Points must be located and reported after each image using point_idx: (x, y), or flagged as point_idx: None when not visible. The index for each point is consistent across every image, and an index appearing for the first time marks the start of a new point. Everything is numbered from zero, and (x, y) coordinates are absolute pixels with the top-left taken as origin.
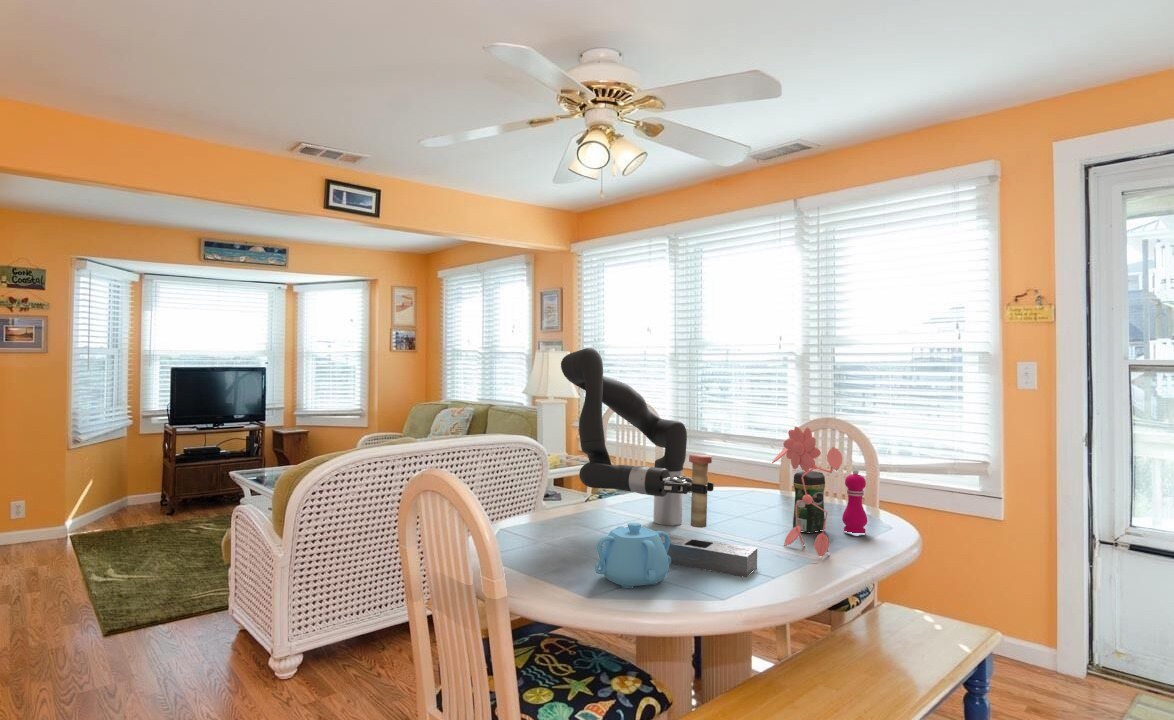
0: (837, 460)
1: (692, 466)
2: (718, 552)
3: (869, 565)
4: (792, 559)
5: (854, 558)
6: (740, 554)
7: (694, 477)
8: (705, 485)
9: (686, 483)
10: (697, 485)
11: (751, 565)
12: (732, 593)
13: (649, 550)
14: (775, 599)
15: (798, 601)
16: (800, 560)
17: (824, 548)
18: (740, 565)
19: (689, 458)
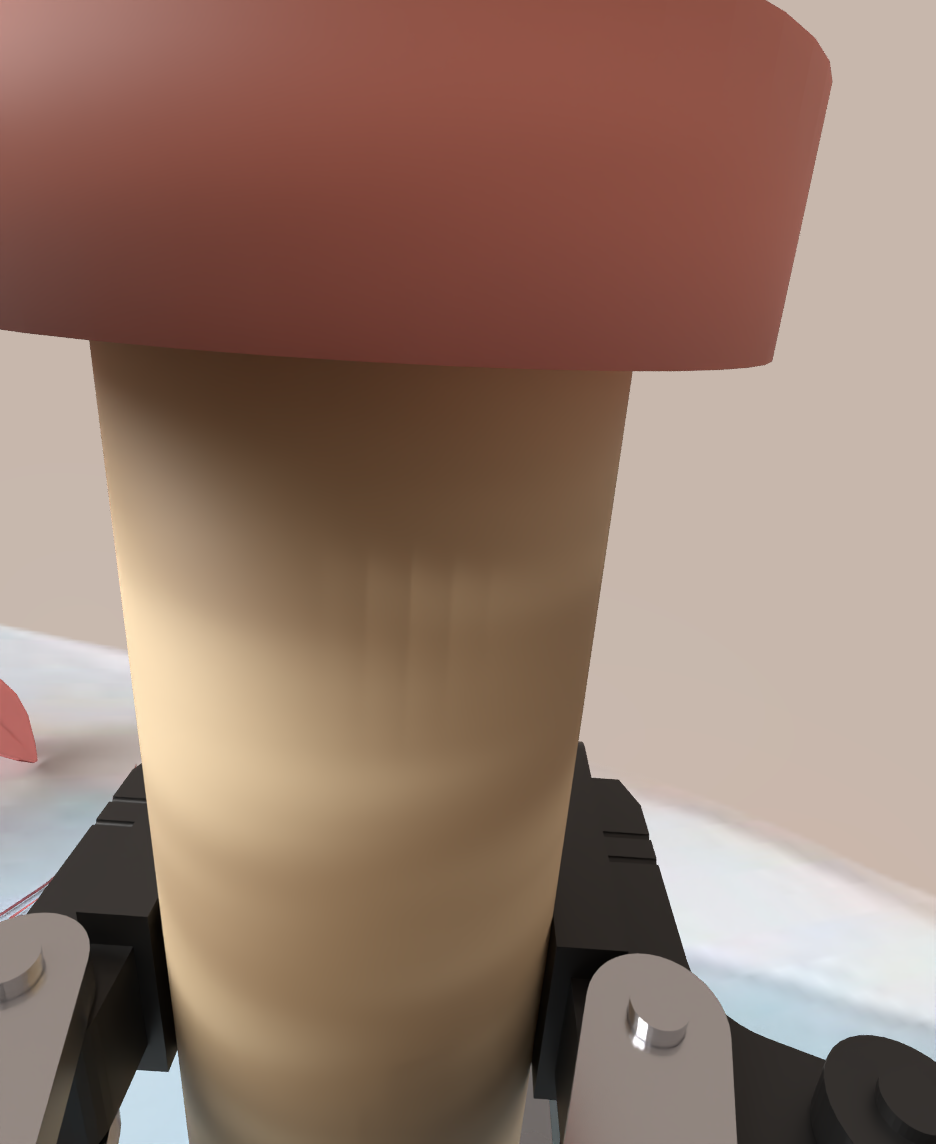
0: None
1: (495, 556)
2: (549, 1128)
3: (117, 658)
4: (58, 856)
5: (17, 685)
6: None
7: (562, 807)
8: (579, 742)
9: (733, 1136)
10: (605, 871)
11: None
12: (834, 1017)
13: None
14: (726, 848)
15: (675, 788)
16: (75, 825)
17: (16, 715)
18: None
19: (703, 161)
